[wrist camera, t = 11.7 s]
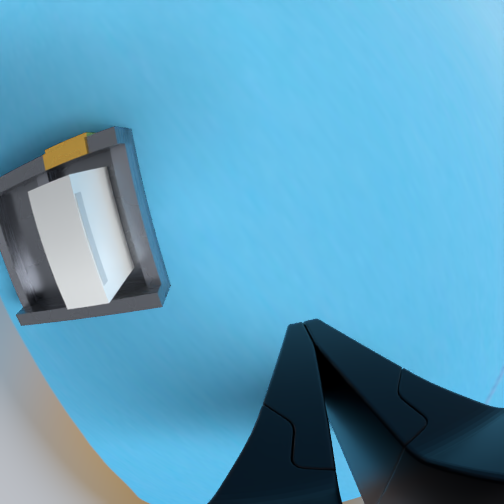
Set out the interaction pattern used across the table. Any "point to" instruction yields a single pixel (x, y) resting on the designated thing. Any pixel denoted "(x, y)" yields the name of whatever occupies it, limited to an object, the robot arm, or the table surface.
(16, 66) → the table surface
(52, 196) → the white rectangular block
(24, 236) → the grey divided tray
